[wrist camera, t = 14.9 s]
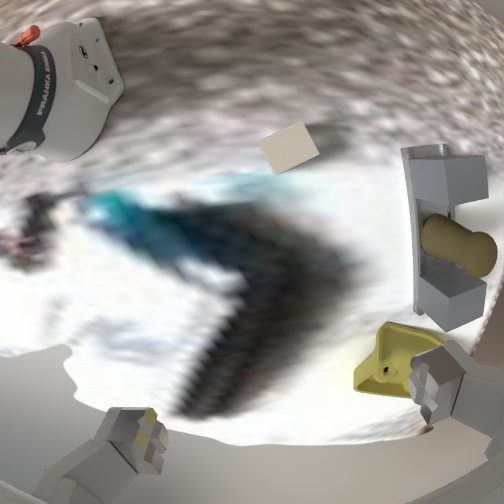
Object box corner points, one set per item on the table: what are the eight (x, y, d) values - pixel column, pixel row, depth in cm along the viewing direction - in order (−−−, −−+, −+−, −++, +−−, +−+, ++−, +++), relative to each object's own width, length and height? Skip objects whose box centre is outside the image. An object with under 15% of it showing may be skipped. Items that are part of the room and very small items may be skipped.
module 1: (407, 159, 32) (443, 159, 24) (448, 154, 32) (486, 155, 24) (413, 197, 33) (448, 206, 26) (453, 190, 33) (490, 197, 25)
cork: (422, 213, 33) (475, 232, 23) (454, 214, 33) (507, 231, 23) (418, 258, 35) (466, 288, 25) (450, 255, 35) (498, 282, 25)
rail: (400, 148, 33) (407, 147, 31) (439, 144, 33) (447, 144, 31) (413, 310, 39) (418, 316, 38) (447, 298, 39) (453, 303, 37)
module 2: (418, 275, 36) (449, 298, 29) (455, 263, 36) (488, 282, 28) (418, 306, 38) (445, 332, 30) (454, 293, 37) (484, 315, 30)
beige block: (257, 145, 33) (259, 141, 28) (294, 126, 33) (301, 120, 28) (273, 174, 34) (277, 175, 29) (310, 155, 34) (319, 154, 29)
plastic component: (347, 390, 41) (382, 361, 34) (348, 352, 46) (378, 319, 40) (434, 400, 41) (471, 375, 34) (430, 368, 47) (463, 340, 40)
